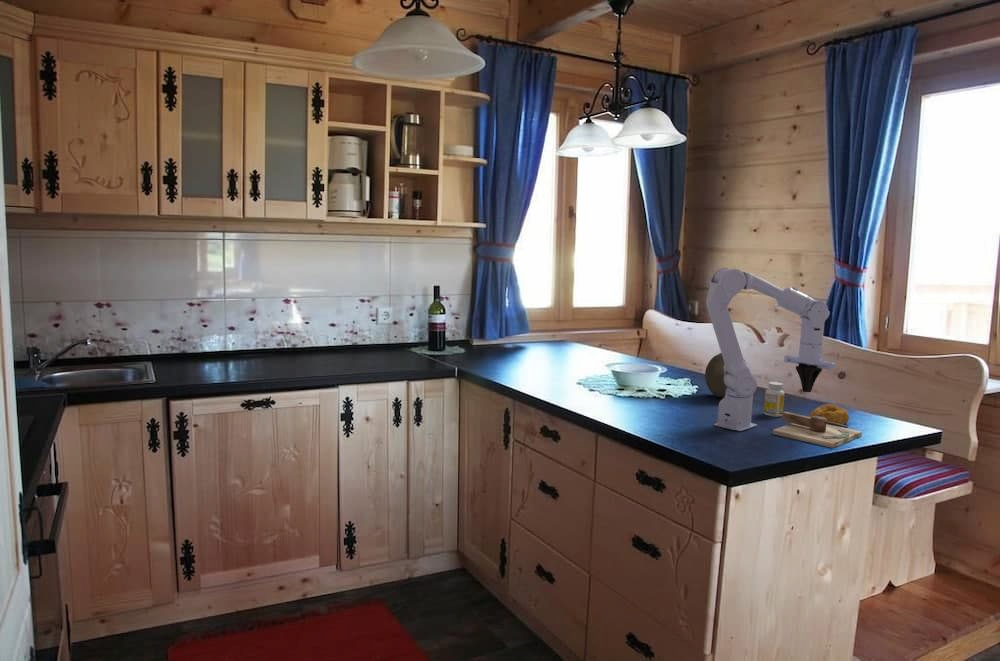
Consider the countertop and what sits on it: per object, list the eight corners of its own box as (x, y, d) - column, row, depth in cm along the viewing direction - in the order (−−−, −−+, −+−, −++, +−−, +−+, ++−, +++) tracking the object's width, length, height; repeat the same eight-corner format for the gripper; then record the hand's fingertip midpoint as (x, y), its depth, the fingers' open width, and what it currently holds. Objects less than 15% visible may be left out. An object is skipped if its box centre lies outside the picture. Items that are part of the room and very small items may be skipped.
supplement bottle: (768, 417, 211) (771, 385, 210) (760, 412, 216) (762, 381, 215) (786, 417, 212) (788, 385, 210) (777, 412, 217) (779, 381, 216)
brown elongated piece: (850, 435, 187) (851, 423, 187) (842, 437, 185) (843, 425, 184) (787, 420, 201) (788, 409, 201) (779, 422, 199) (780, 411, 198)
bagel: (801, 417, 212) (803, 401, 212) (838, 418, 212) (840, 402, 212) (816, 426, 202) (817, 410, 202) (855, 427, 202) (856, 411, 202)
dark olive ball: (695, 397, 235) (698, 352, 233) (715, 391, 245) (718, 348, 243) (736, 405, 225) (739, 358, 224) (755, 398, 236) (758, 353, 234)
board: (833, 447, 181) (833, 442, 180) (772, 434, 192) (773, 428, 192) (861, 435, 193) (862, 430, 192) (803, 423, 204) (803, 418, 204)
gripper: (844, 346, 193) (839, 395, 195) (796, 338, 205) (792, 385, 207) (829, 347, 189) (824, 398, 191) (781, 340, 201) (777, 387, 203)
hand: (806, 391), depth 199 cm, fingers closed
